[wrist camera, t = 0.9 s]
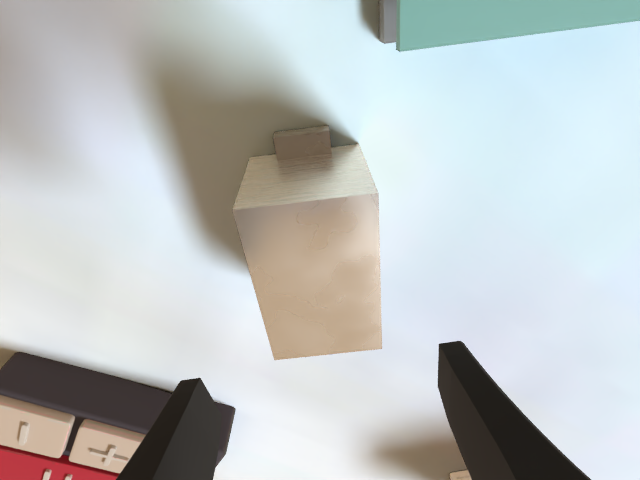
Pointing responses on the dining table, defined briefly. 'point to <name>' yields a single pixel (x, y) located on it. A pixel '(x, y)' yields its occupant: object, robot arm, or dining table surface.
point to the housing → (312, 244)
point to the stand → (491, 19)
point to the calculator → (75, 420)
